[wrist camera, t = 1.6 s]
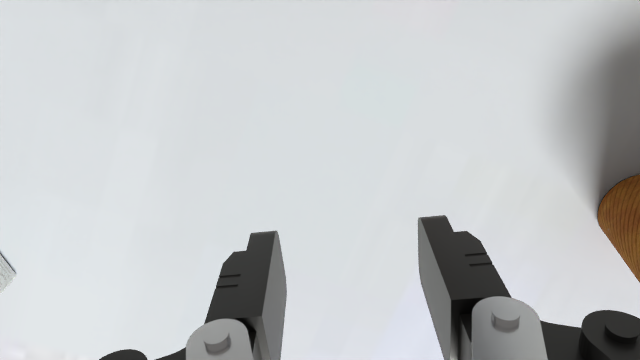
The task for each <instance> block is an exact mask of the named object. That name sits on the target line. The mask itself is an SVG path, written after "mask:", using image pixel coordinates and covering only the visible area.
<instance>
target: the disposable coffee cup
mask: <svg viewBox="0 0 640 360" xmlns="http://www.w3.org/2000/svg"><path fill="white" fill-rule="evenodd" d="M598 223H599V226H600V227H601V229H602V231H603V232H604V233H605V234H606V236H607V237H608V239H609V240H610V241H611V243H612V244H613V246H614V247H615V248H616V250H617V251H618V253H619V254H620V255H621V257H622V258H623V260H624V261H625V263H626V264H627V265H628V267H629V268H630V270H631V271H632V272H633V274H634V275H635V277H636V278H637V279H638V281H639V282H640V175H636V176H632V177H630V178H627V179H625V180H623V181H621V182H620V183H618V184H617V185H615V186H614V187H613V188H612V189H611V190H610V191H609V192H608V193H607V194H606V195H605V197H604V198H603V200H602V201H601V204H600V206H599V209H598Z"/></svg>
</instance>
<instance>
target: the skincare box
mask: <svg viewBox="0 0 640 360" xmlns="http://www.w3.org/2000/svg"><path fill="white" fill-rule="evenodd" d="M15 277H16V274H15V272H14V271H13V270H12V269H11V267H10V266H9V265H8V264H7V262H6V261H5V260H4V258H3V257H2V256H1V255H0V294H1V293H2V292H3V291H4V290H5V289H6V288H7V287H8V285H9V284H10V283H11V282H12V281H13V280H14V279H15Z"/></svg>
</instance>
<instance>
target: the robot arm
mask: <svg viewBox="0 0 640 360" xmlns="http://www.w3.org/2000/svg"><path fill="white" fill-rule="evenodd" d="M418 257H419V273H420V280H421V284H422V288H423V291H424V295H425V298H426V301H427V304H428V308H429V311H430V314H431V318H432V321H433V324H434V327H435V331H436V334H437V337H438V341H439V344H440V347H441V350H442V354H443V357H444V360H640V319H639V318H637V317H635V316H632V315H630V314H627V313H623V312H619V311H612V310H601V311H596V312H592V313H590V314H588V315H587V316H586V317H585V318H584V320H583V322H582V327H581V328H578V327H571V326H565V325H558V324H552V323H547V322H544V321H540V319H539V316H538V315H537V313H536V312H535V311H534V309H532V308H531V307H530V306H529V305H527V304H526V303H524V302H522V301H519V300H517V299H514V298H511V296H510V294H509V292H508V290H507V289H506V287H505V285H504V283H503V281H502V279H501V278H500V276H499V274H498V272H497V270H496V269H495V267H494V265H492V261H491V260H490V258H489V256H488V255H487V252H486V251H485V249H484V247H483V245H482V243H481V241H480V240H478V239H477V238H476V237H474V236H473V235H471V234H470V233H469V232H467V231H462V232H453V229H452V227H451V225H450V223H449V221H448V219H447V217H446V216H445V215H443V216H431V217H420V218H419V219H418ZM286 295H287V289H286V276H285V270H284V264H283V258H282V252H281V246H280V240H279V235H278V232H277V231H268V232H257V233H251V235H250V238H249V242H248V246H247V250H246V251H239V252H233V253H232V255H231V256H230V257H229V258H228V259H227V260H226V261H225V262H224V263H223V266H222V269H221V272H220V275H219V279H218V282H217V285H216V289H215V291H214V295H213V298H212V301H211V304H210V307H209V311H208V314H207V317H206V320H205V323H204V325H202V326H201V327H199V328H198V329H197V330H196V331H195V332H194V333H193V334H192V335H191V336H190V338H189V339H188V341H187V344H186V347H185V348H184V349H182V350H180V351H178V352H176V353H173V354H171V355H168V356H165V357H162V358H159V359H156V360H280V357H281V347H282V337H283V327H284V317H285V306H286ZM99 360H147V358H146V356H145V355H144V354H143V353H142V352H140V351H137V350H131V349H127V350H120V351H116V352H113V353H110V354H108V355H106V356H104V357H102V358H101V359H99Z"/></svg>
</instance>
